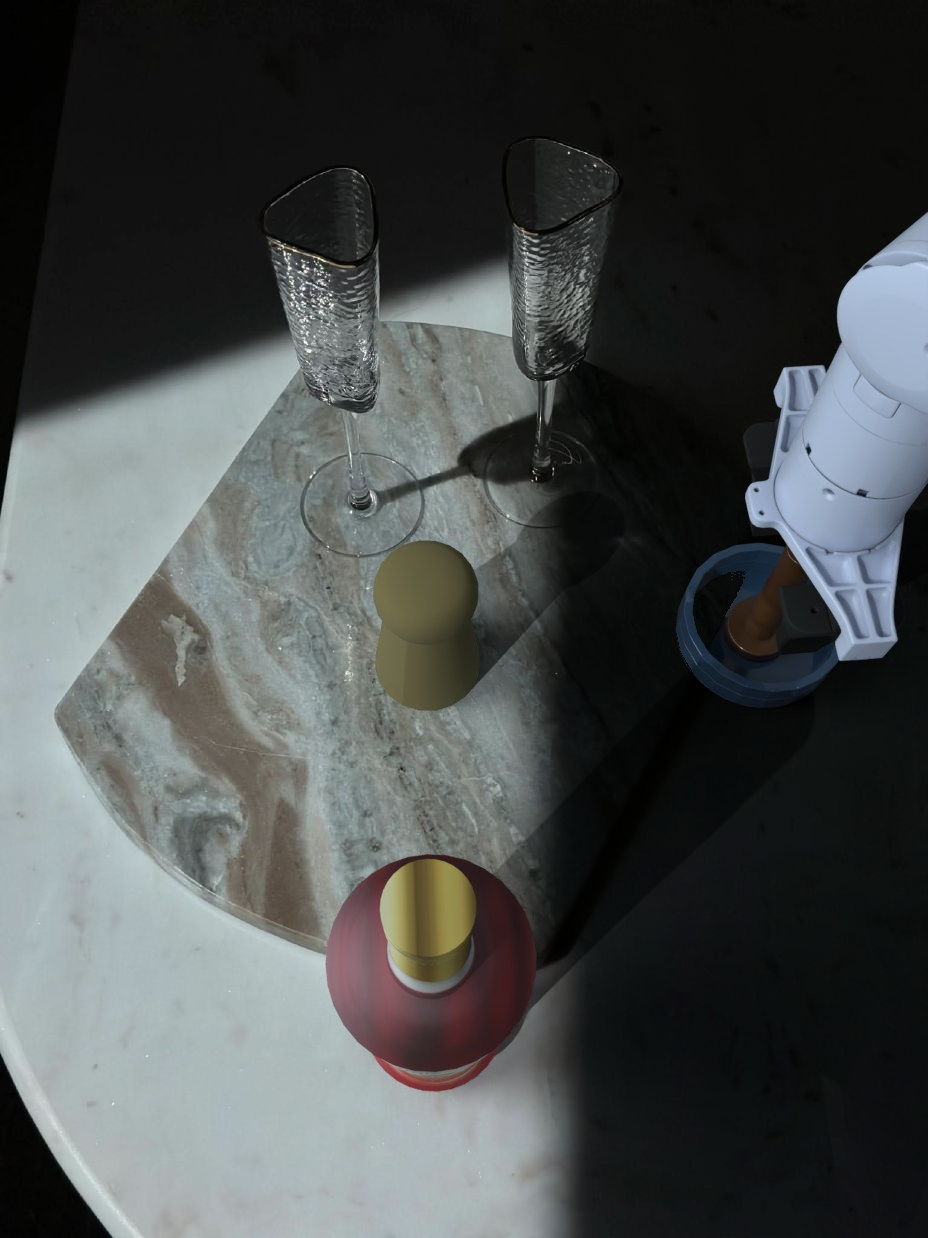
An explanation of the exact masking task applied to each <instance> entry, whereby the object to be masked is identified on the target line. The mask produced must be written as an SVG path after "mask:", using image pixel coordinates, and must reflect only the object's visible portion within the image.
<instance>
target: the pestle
mask: <svg viewBox="0 0 928 1238" xmlns="http://www.w3.org/2000/svg"><path fill="white" fill-rule="evenodd" d="M784 547H785V549H784V551H783V552H782V554H781V556H780V558H779V559H778V561H777V563H776V565H775V566H774V568H773V570H772V572H771V573H770V575H769V577H768V579H767V581H766V582H765V584H764V586H763V588H762V589H761V591H760V593H759V595H758V596H757V598H750V599H746V600H743V601H741V602H739V603H738V604H736V605H735V606H734V607H733V608H732V610H731V611H730V613H729V615H728V617H727V619H726V621H725V624H724V636H725V639H726V642H727V644H728V645H729V647H730V648H731V649H732V651H733V652H734V653H736V654H737V655H738V656H740V657H741V658H743V659H746V660H749V661H753V662H765V661H769V660H772V659H774V658H775V657H777V656H778V655H779V653H778V648H777V644H776V634H777V631H778V629H779V626H780V624H781V622H782V619H783V614H782V610H781V605H780V601H779V596H778V592H777V589H778V588H779V586H788V585H802V584H806V583H807V581H808V580H809V577H808V575H807V574H806V572H805V571H804V569H803V568H802V566H801V565H800V563H799V562H798V560H797V559H796V557H795V556H794V554H793V553H792V551H791V550H790V548H789V547H788V545H787V544H786V545H785V546H784Z"/></svg>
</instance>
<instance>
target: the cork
mask: <svg viewBox="0 0 928 1238" xmlns="http://www.w3.org/2000/svg"><path fill="white" fill-rule="evenodd" d="M372 589H373V590H372V598H373V603H374V606H375V610H376V613H377V616H378V618H379V619H380V620H381V627H380V631H379V635H378V640H377V646H376V651H375V666H374V669H375V672H376V676H377V679H378V682H379V684H380V686H381V687H382V688H383V690H384V691H385V693H386V694H387V695H388V696H389V697H390V698H391V699H393V700H394V701H395V702H397V703H398V704H400V705H401V706H403V707H406V708H409V709H412V710H416V711H425V712H426V711H428V712H429V711H430V712H434V711H435V712H436V711H438V710H442V709H446V708H449V707H452V706H453V705H455V704H457V703H458V702H460V701H461V700H462V699H464V698H466V696H467V695H468V694H469V693H470V691H471V690H472V689H473V688H474V686H476V682H477V679H478V677H479V674H480V671H481V652H480V649H479V646H478V641H477V637H476V633H475V629H474V625H473V623H472V619H473V618H474V616H475V612H476V610H477V607H478V604H479V580H478V578H477V576H476V573H475V569H474V567H473V566H472V564H471V562H470V561H469V560H468V559H467V557H466V556H465V555H464V554H463V553H462V552H460V551H459V550H457V549H456V548H454V547H453V546H452V545H450V544H447V543H444V542H441V541H437V540H425V539H424V540H423V539H422V540H420V539H419V540H415V541H412V542H408V543H404V544H402V545H401V546H399V547H397V548H396V549H394V550H393V551H392V550H391V552H390V553H389V554H388V555H387V556H386V557H385V558H384V560H382V562H381V563H380V565H379V568H378V570H377V572H376V574H375V577H374V580H373V588H372Z"/></svg>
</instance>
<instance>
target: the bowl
mask: <svg viewBox="0 0 928 1238" xmlns="http://www.w3.org/2000/svg"><path fill="white" fill-rule="evenodd" d="M785 547H786V546H782V545H777V544H776V545H775V544H770V543H765V542H753V543H744V544H743V543H742V544H736V545H732V546H731V547H728V548H725V549H723V550H721V551H718V552H716V553H714V554H712V555H711V556H710V557H709V558H708V559H707V560H706V561H704V563H702V564H701V565H700V566H698V567H697V569H696V570H695V572H694V574H693V575H692V577H691V579H690V581H689V584H688V585H687V587H686V589H685V591H684V593H683V596H682V598H681V601H680V603H679V605H678V608H677V614H678V615H676V622H677V623H675V634H676V633H677V635H676V638H677V637H678V640H677V643H678V642H679V645H678V648H679V647H680V648H679V651H681V652H680V654H681V653H682V654H681V656H682V655H683V656H682V658H683V657H684V658H685V660H686V662H687V663H688V665H689V667H690V668H691V670H692V672H693V673H694V674H693V673H692V672H691V673H692V674H693V676H694V677H695V678H696V679H697V680H698V681H699V682H700V683H701V684H702V685H703V686H704V687H705V688H707V689H708V690H710V691H711V692H713V693H714V694H715V695H717V696H719V697H720V698H723V699H724V700H728V701H730V702H732V703H734V704H738V705H741V706H744V707H751V708H758V709H766V708H767V709H768V708H777V707H783V706H788V705H790V704H792V703H795V702H797V701H799V700H801V699H804V698H806V697H808V696H809V695H810V694H811V693H812V692H814V690H815V689H816V688H818V687H819V685H820V684H821V683H822V682H823V681H825V679H826V678H827V677H828V675H829V674H830V673H831V672H832V670H833V669H835V667H836V665H837V664H838V663H839V662H840V660H839V658H838V654H837V650H836V646H835V641H834V642H832V643H830V644H828V645H826V646H825V647H823V648H821V649H820V650H818V651H816V652H811V653H798V654H785V655H781V654H779V655H778V656H777V657H775V658H774V659H772V660H769V661H765V662H753V661H749V660H746V659H743V658H741V657H740V656H738V655H737V654H736V653H734V652H733V651H732V649H731V648H730V647H729V645H728V644H727V642H726V639H725V636H724V624H725V621H726V619H727V617H728V615H729V613H730V611H731V610H732V608H733V607H734V606H735V605H736V604H738V603H739V602H741V601H743V600H746V599H750V598H757V596H758V595H759V593H760V591H761V589H762V588H763V586H764V584H765V582H766V581H767V579H768V577H769V575H770V573H771V572H772V570H773V568H774V566H775V565H776V563H777V561H778V559H779V558H780V556H781V554H782V552H783V551H784V549H785ZM736 571H742V572H743V571H745V572H746V573H745V572H744V573H745V575H743V574H742V576H743V577H745V579H744V578H743V584H742V586H741V587H740V590H739V592H737V597H736V598H735V599H734V601H733V603H732V604H731V606H730V609H728V611H727V613H726V615H725V617H724V619H723V621H722V623H721V626H720V625H719V626H720V629H719V632H717V634H716V635H715V638H714V640H713V641H712V644H710V647H709V650H707V648H706V647H705V645H704V643H703V642H702V640H701V638H700V637H699V635H698V633H697V629H696V625H695V621H694V616H693V605H694V597H695V594H696V593H697V592H698V591H699V590H700V589H701V588H702V587H703V586H705V585H706V584H707V583H708V582H709V581H710V580H712V579H714V578H717V577H719V576H721V575H724V574H727V573H728V572H731V574H734V573H732V572H736ZM738 574H740V573H738ZM734 575H736V574H734ZM731 577H733V576H731ZM739 577H740V576H739ZM731 580H733V579H731ZM806 584H813V583H812V581H811V580H810V578H809V580H808V581H807V583H806ZM684 658H683V659H684ZM685 660H684V661H685ZM686 662H685V663H686ZM689 667H688V668H689ZM691 670H690V671H691Z"/></svg>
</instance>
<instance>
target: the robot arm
mask: <svg viewBox="0 0 928 1238" xmlns="http://www.w3.org/2000/svg"><path fill="white" fill-rule="evenodd" d="M836 309H837V310H836V322H837V329H838V334H839V337H840V340H841V343H840V344H839V346H838V348H837V351H836V353H835V354H834V357H833V359H832V361H831V363H830V365H829V366H828V368H827V370H826V367H825V365H823V364H819V365H818V364H817V365H816V364H815V365H802V366H800V365H799V366H786V367H783V369H782V370H781V373H780V375H779V377H778V380H777V383H776V385H775V387H774V389H773V395H774V399H775V404H776V406H777V407H778V408H780V409H781V411H780V414H779V415H780V416H779V417H778V418H776V419H775V421H766V422H756V423H753V424H751V425H750V426H749V427H748V428H746V430H745V432H744V434H743V436H742V440H743V441H742V442H743V446H744V449H745V453H746V458H747V463H748V466H749V470H750V471H751V483H750V484H749V486H748V487H747V489H746V492H745V497H744V499H745V504H746V508H747V512H748V517H749V518H748V519H749V525H750V530H751V535H752V537H764V536H767V537H768V536H779V535H780V536H781V538H782V539H783V540H784V542H785V544H786V545H788V547H789V548H790V550H791V551H792V553H793V554H794V556H795V557H796V559H797V560H798V562H799V563H800V565H801V566H802V568H803V569H804V571H805V572H806V574H807V575H808V577H809V578H810V580H811V581H812V583H813V584H802V585H788V586H779V588H778V589H777V592H778V596H779V601H780V605H781V610H782V614H783V619H782V622H781V624H780V626H779V629H778V631H777V634H776V644H777V648H778V653H779V654H781V655H785V654H798V653H811V652H816V651H818V650H820V649H821V648H823V647H825V646H826V645H828V644H830V643H832V642H834V641H835V646H836V650H837V654H838V658H839V662H845V661H862V660H863V661H864V660H870V659H871V660H873V659H882V658H884V657H885V655H886V654H887V653H888V652H889V651H890V650H891V649H892V647H893V646H894V645H895V644H896V643H897V642H898V640H899V637H898V633H897V630H898V629H899V628H901V626H902V625H903V624H904V622H905V620H906V615H907V611H906V608H905V604H904V603H905V602H904V600H903V596H902V592H901V589H900V585H899V583H897V580H898V572H899V567H900V566H899V564H900V558H901V557H900V556H901V550H902V549H901V548H902V540H903V533H904V525H905V516H906V513H907V512H908V511H909V509H910V508H911V506H912V505H913V503H914V502H915V501H916V499H917V498H918V497H919V495H920V494H921V493H922V492H923V490H924V488H925V487H926V486H927V484H928V211H927V212H926V213H925V214H924V215H922V216H921V217H920V218H919V219H917V220H916V221H915V222H914V223H913V224H911V226H909V227H908V228H907V229H905V230H904V231H903V232H902V233H901V234H899V235H898V236H897V237H896V238H895V239H894V240H892V241H891V242H890V243H889V244H888V245H886V246H885V247H884V248H882V250H880V251H879V252H877V253H876V254H875V255H874V256H873V257H871V258H870V259H869V260H868V261H867V262H866V263H864V264H862V266H861V268H859V270H858V271H857V272H856V274H855V275H853V276H852V277H851V278H850V279H849V281H848V282H846V284H845V286H844V287H843V289H842V291H841V293H840V296H839V299H838V302H837V307H836Z"/></svg>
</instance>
